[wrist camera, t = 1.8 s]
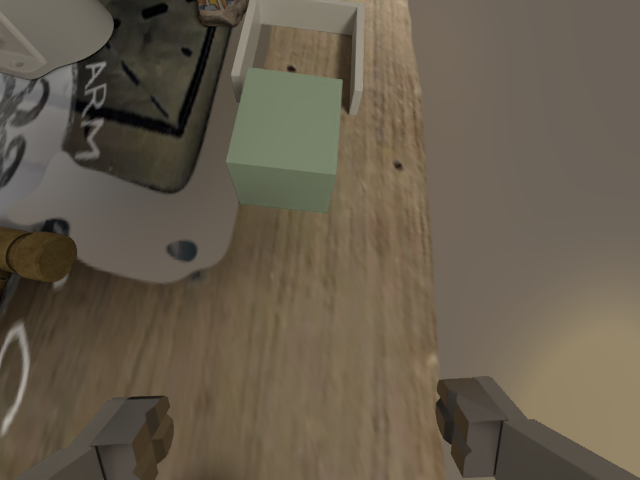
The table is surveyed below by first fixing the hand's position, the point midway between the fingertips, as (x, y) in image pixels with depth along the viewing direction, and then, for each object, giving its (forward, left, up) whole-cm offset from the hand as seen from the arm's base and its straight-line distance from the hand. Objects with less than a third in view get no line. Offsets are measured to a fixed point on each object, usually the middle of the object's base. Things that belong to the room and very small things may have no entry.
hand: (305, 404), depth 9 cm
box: (-3, +40, -20) cm, 45 cm away
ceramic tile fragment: (-17, +51, -21) cm, 58 cm away
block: (-3, +23, -21) cm, 31 cm away
